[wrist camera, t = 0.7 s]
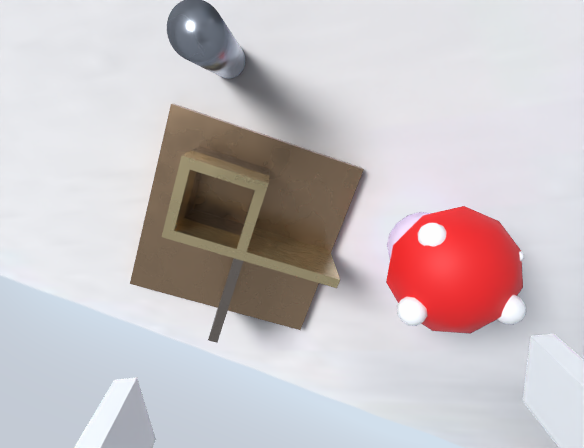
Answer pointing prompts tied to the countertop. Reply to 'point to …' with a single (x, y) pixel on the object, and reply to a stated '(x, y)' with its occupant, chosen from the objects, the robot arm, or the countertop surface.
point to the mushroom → (455, 271)
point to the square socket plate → (241, 220)
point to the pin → (204, 38)
